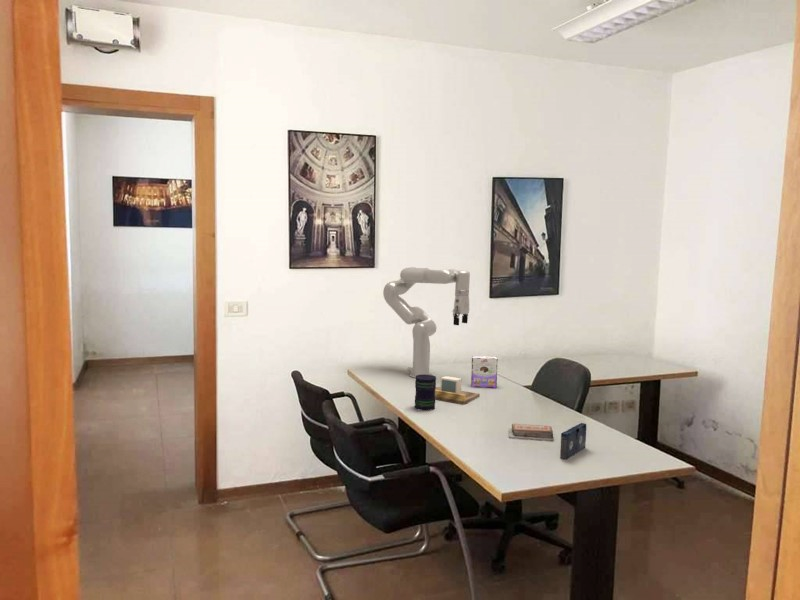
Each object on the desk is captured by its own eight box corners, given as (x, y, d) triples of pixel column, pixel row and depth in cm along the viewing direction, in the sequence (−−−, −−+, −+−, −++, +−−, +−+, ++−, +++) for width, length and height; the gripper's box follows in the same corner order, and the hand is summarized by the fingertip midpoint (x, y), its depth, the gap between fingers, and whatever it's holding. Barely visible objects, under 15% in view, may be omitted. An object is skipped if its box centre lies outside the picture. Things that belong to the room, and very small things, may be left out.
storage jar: (436, 410, 303) (437, 379, 302) (415, 410, 303) (416, 379, 301) (434, 404, 313) (435, 374, 312) (413, 404, 313) (414, 374, 311)
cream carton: (456, 396, 324) (456, 380, 323) (440, 393, 329) (440, 377, 328) (460, 394, 329) (461, 378, 328) (445, 391, 333) (445, 376, 332)
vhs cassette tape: (579, 446, 259) (581, 422, 258) (586, 448, 257) (588, 424, 256) (558, 458, 245) (559, 432, 244) (565, 460, 243) (567, 434, 242)
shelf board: (421, 396, 327) (421, 388, 327) (437, 389, 343) (438, 381, 342) (464, 404, 315) (464, 395, 314) (479, 396, 330) (479, 388, 330)
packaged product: (552, 423, 273) (554, 431, 263) (551, 434, 274) (553, 442, 264) (508, 420, 276) (509, 427, 266) (508, 431, 276) (508, 439, 267)
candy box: (496, 385, 354) (497, 356, 352) (496, 388, 348) (498, 358, 346) (470, 384, 355) (471, 355, 354) (470, 387, 350) (472, 357, 348)
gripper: (460, 295, 347) (458, 326, 349) (475, 292, 361) (473, 323, 363) (448, 293, 351) (446, 325, 353) (463, 291, 365) (461, 321, 367)
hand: (460, 324), depth 358 cm, fingers open, 9 cm apart
